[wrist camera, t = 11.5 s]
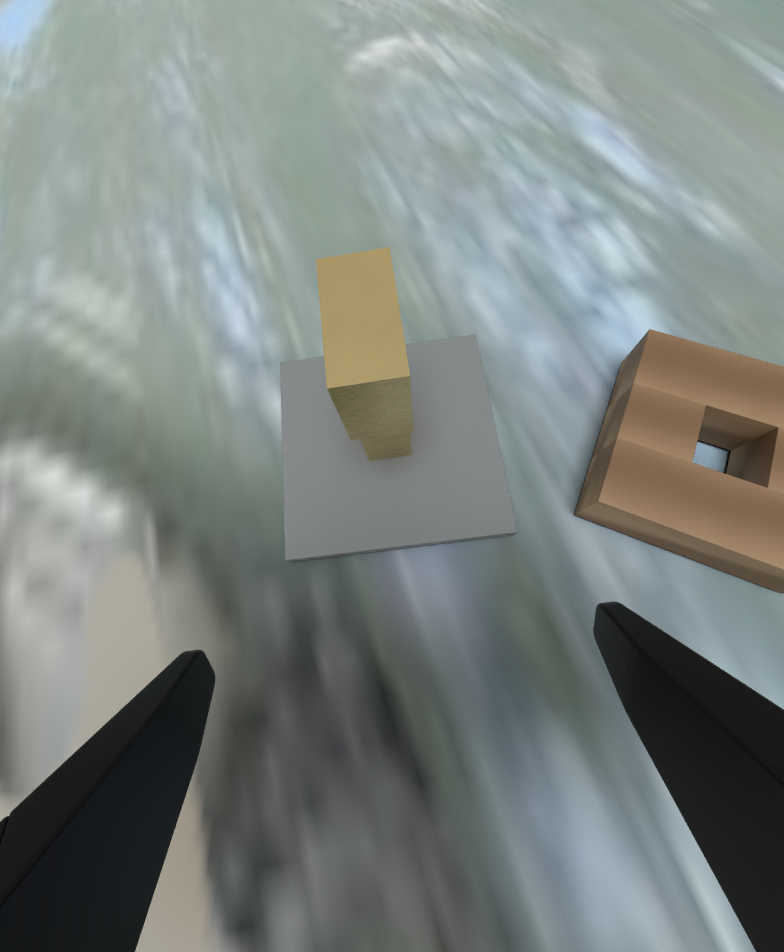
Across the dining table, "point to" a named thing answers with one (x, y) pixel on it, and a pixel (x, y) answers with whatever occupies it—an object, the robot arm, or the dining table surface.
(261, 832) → the dining table surface
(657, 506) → the slot block
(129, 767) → the robot arm
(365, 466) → the mat
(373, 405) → the t key
